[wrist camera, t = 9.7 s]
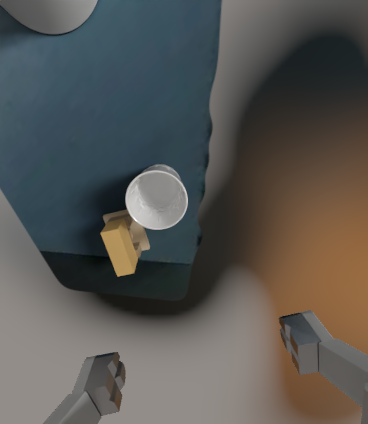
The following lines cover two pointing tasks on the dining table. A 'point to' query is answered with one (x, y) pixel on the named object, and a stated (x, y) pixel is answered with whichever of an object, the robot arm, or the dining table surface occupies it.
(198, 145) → the dining table surface
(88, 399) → the robot arm
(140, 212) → the white cup
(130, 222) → the display stand
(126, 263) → the tan rectangular block
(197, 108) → the dining table surface
